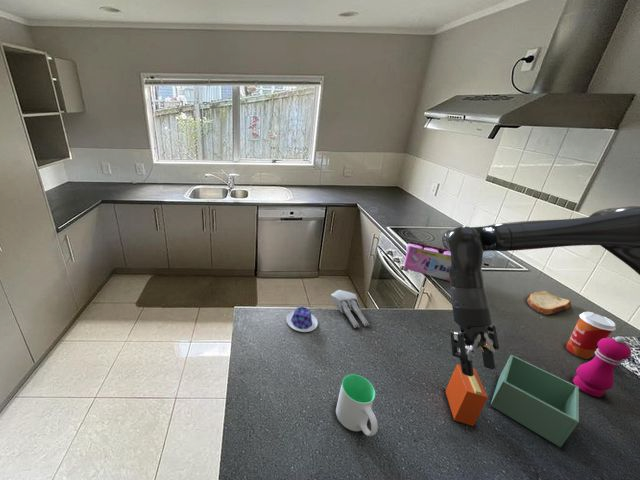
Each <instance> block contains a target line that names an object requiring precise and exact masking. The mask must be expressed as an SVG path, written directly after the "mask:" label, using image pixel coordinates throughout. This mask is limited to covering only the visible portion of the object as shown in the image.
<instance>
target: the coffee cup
mask: <svg viewBox="0 0 640 480" xmlns="http://www.w3.org/2000/svg"><path fill="white" fill-rule="evenodd" d="M578 316H579V318H578V319H577V322H576V324H575V327H574V329H573V331H572V332H571V335H570V337H569V340H568V341H567V343H566V347H565V348H566V350H567V351H568V352H570V353H571V354H573V355H574V356H576V357H578V358H581V359H586V360H589V359H591V358H592V356H593V355H594V354H595V351H596V350H597V349H598V346H597V344H598V342H599V341H600V340H601V339H603V338H609V336H610V335H611V334H612V333H613V332H614V331H616V329H617V328H616V323H615V322H614V321H613V320H612V319H610V318H608V317H606V316H603V315H602V314H599V313H595V312H592V311H583V312H582V313H580V314H579V315H578Z"/></svg>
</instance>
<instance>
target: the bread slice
mask: <svg viewBox="0 0 640 480" xmlns="http://www.w3.org/2000/svg"><path fill="white" fill-rule="evenodd" d="M527 304H528V306H529V307H531V308H532V309H533V310H534V311H536V312H537V313H539V314H542V315H546V316H548V315H553V314H557V313H559V312H563V311H566V310H568V309H570V307H571V306H572V301H571V300H570V299H567V298H563V297H560V296H557V295H555V294H553V293H552V292H550V291H548V290H540V291H534V292H531V293H530V294H529V297H528V298H527Z"/></svg>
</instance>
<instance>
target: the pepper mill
mask: <svg viewBox="0 0 640 480" xmlns="http://www.w3.org/2000/svg"><path fill="white" fill-rule="evenodd" d="M625 342H626V340H625V338H624V337H622V336H615V338H614V337H613V338H612V337H607V338H603V339H601V340H600V341H599V342H598V344H597V346H598V349H597V350H596V351H595V353H594V354H595V355H594V357H593V358H592V359H591V360H589V361H586V362H585V363H582V364H580V365H579V366H578V367H577V368H576V375H574V377H573V378H572V382H573V384H574V385H576V386H578V387H579V390H580V391H582V392H583V393H585V394H587V395H591V396H593V397H597V398H600V397H603V396H604V395H605V393H606V391H608V390H609V391H610V390H611V389H612V388H613V386H614V383H615V379H614V370H615V368H616V367H617V366H620V365H621V364H622V363H623V362H624V360H628V359H630V357H631V356H632V350H631V348H630V347H629V346H628V345H627V344H626V343H625Z"/></svg>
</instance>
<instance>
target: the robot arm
mask: <svg viewBox="0 0 640 480" xmlns="http://www.w3.org/2000/svg"><path fill="white" fill-rule="evenodd" d="M441 244H442V246H443V248H444V249H447V250H448V251H450V252H451V266H450V267H449V277H450V281H449V283H450V300H451V308H452V315H453V321H454V323H456V324H457V325H458V326H459V331H454V330H451V331H450V341H451V343H450V344H451V353H452V354H451V355H452V356H453V357H454V358H458V359H459V362H460V365H461V369H462V373H463V374H464V375H467V376H470V377H471V376H473V375H474V374H473V368H474V365H473V361H472V358H473V354H474V353H476V352H477V349H478V348H480V349H481V351H482V352H481V356H482V362H483V367H484V368H487V369H488V370H495V369H496V363H495V356H494V354H495V353H496V351H499V349H500V345H499V340H498V333H497V329H496V326H495V325H492V318H491V311H490V304H489V298H488V294H487V291H486V287H485V279H484V274H483V273H484V272H483V270H482V269H483V261H484V260H483V259H484V252H513V251H529V250H538V249H550V248H552V249H553V248H563V247H564V248H565V247H577V246H582V247H583V246H600V247H602V248H603V249H605V250H606V251H607V252H609V253H610V254H611V255H613V256H614V257H616V258H617V259H619V260H620V261H621V262H623V263H624V264H626V265H627V266H628V267H629V268H630V269H632V270H633V271H634V272H635V273H636V274H637V275H639V276H640V205H634V206H633V205H632V206H630V205H629V206H622V207H621V206H619V207H609V208H604V209H600V210H597V211H595V212H592V213H591V214H590V215H589V216H586V217H585V216H584V217H578V218H576V217H575V218H566V219H565V218H563V219H543V220H542V219H541V220H540V219H539V220H538V219H537V220H522V221H509V222H500V223H495V224H494V223H493V224H490V225H489V224H488V225H483V226H468V225H462V226H457V227H452V228H450V229H448V230H446V231H445V232H444V233H443V235H442V237H441Z"/></svg>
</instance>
